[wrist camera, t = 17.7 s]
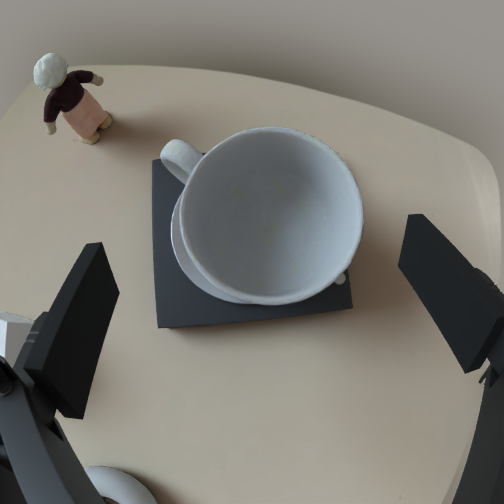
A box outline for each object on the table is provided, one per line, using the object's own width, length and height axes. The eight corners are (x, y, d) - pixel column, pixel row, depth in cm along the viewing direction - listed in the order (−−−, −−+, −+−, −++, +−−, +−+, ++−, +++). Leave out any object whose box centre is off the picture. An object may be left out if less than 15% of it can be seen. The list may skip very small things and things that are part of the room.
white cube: (39, 379, 26) (4, 387, 20) (1, 363, 26) (-34, 367, 20) (43, 323, 27) (6, 321, 21) (4, 311, 27) (-31, 307, 21)
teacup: (357, 240, 26) (398, 210, 18) (265, 338, 24) (274, 347, 16) (239, 133, 28) (237, 74, 20) (146, 214, 26) (110, 174, 18)
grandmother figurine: (99, 102, 32) (56, 30, 20) (123, 108, 32) (83, 31, 20) (64, 155, 31) (4, 93, 19) (87, 165, 31) (27, 98, 18)
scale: (319, 156, 31) (325, 143, 29) (344, 309, 28) (354, 308, 25) (158, 171, 31) (151, 158, 28) (165, 327, 28) (156, 328, 25)
